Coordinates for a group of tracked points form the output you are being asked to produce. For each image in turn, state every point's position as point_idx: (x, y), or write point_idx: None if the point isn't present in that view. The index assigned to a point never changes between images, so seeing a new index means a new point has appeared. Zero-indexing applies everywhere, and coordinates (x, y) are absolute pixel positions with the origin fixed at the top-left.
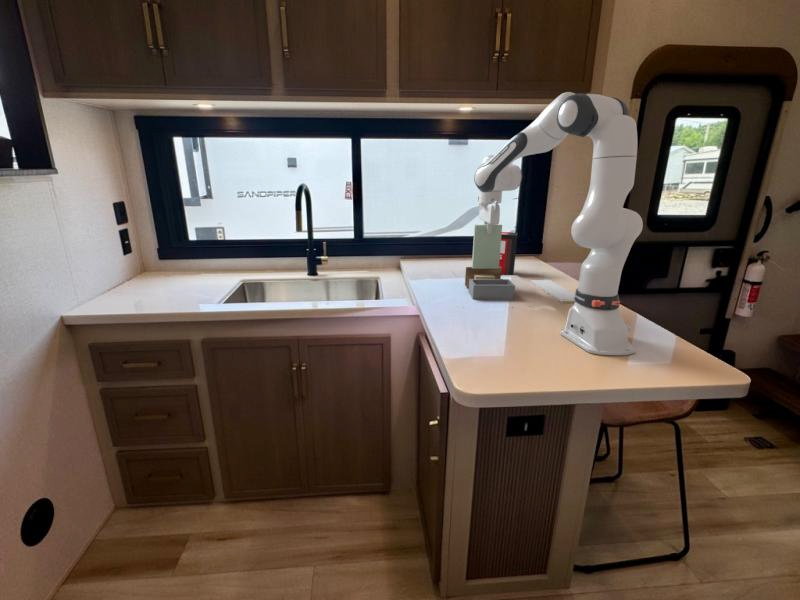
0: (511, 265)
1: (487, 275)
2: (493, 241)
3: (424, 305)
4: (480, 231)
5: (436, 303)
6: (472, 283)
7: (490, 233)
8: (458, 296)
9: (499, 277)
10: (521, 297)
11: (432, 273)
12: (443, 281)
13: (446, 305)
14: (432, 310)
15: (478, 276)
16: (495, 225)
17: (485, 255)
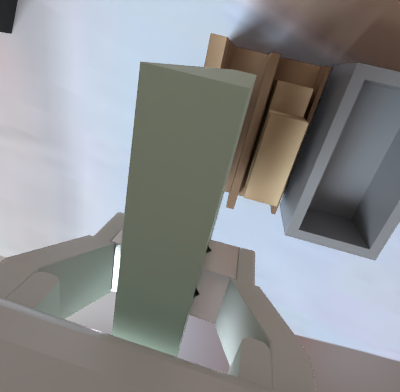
0: None
1: (272, 147)
2: (232, 159)
3: (317, 335)
4: (182, 337)
5: (314, 308)
6: (349, 252)
7: (253, 257)
8: (275, 234)
9: (230, 48)
10: (382, 5)
11: (15, 201)
12: (109, 207)
13: (341, 295)
14: (363, 336)
15: (275, 193)
16: (205, 241)
17: (228, 175)
